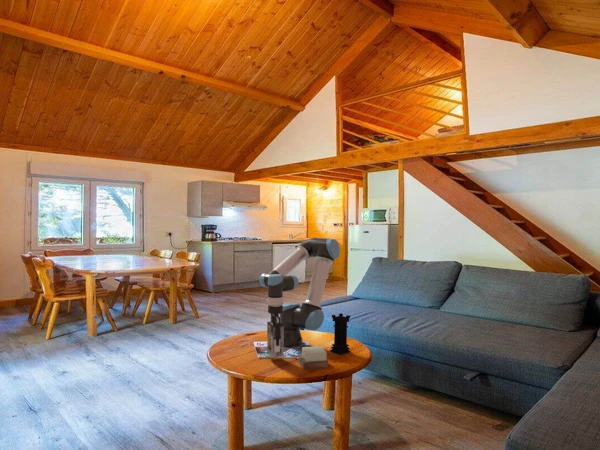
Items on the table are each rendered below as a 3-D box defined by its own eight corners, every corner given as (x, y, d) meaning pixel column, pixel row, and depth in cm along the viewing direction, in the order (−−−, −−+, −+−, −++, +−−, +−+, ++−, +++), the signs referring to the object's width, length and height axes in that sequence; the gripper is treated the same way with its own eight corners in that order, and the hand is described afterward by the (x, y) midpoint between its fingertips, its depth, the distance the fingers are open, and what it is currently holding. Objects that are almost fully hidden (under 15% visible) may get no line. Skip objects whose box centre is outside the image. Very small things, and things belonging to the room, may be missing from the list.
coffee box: (266, 352, 212) (266, 321, 212) (278, 351, 215) (278, 320, 214) (271, 358, 204) (271, 326, 203) (284, 356, 206) (284, 324, 206)
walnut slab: (298, 362, 208) (298, 354, 208) (320, 360, 211) (321, 353, 211) (304, 370, 196) (304, 362, 196) (327, 369, 199) (328, 361, 199)
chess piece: (340, 355, 219) (340, 317, 219) (329, 351, 225) (330, 315, 225) (350, 352, 224) (351, 315, 224) (340, 348, 230) (340, 313, 230)
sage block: (301, 355, 207) (301, 347, 207) (320, 354, 209) (320, 346, 209) (306, 361, 197) (306, 353, 197) (326, 360, 200) (326, 352, 200)
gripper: (264, 300, 218) (264, 342, 219) (271, 310, 197) (271, 356, 198) (278, 300, 220) (278, 341, 221) (287, 309, 199) (287, 355, 199)
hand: (275, 348), depth 209 cm, fingers closed on coffee box, 9 cm apart
